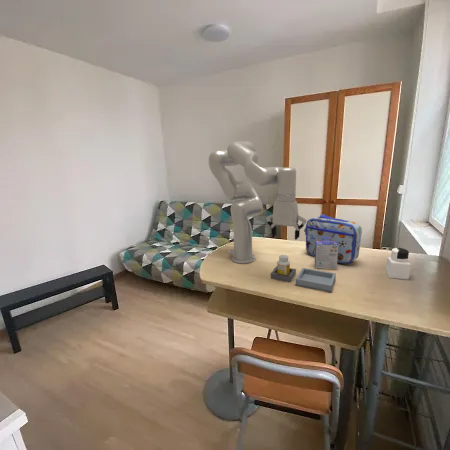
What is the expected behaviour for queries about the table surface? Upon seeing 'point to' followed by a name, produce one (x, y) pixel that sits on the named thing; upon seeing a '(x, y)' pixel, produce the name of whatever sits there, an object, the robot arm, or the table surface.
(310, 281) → the tray
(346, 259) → the lunch box
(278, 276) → the collar
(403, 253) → the medicine bottle
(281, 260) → the supplement bottle
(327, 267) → the ink cartridge box
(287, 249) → the table surface
